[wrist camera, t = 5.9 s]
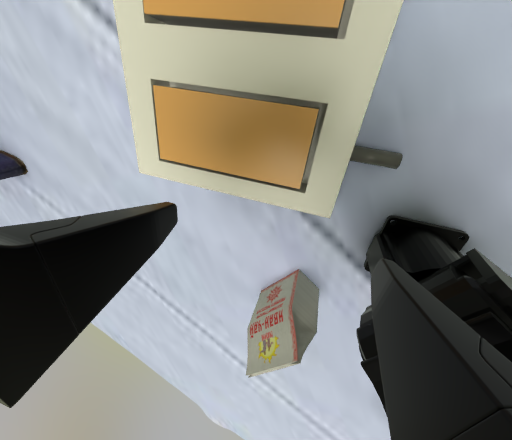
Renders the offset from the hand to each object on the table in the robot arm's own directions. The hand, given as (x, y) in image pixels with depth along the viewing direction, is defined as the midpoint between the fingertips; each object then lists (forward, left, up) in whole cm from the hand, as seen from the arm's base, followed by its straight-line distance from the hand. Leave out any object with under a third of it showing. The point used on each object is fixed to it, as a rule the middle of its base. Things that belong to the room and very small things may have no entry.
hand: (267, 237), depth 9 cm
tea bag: (-2, +16, -13) cm, 21 cm away
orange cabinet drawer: (+6, -2, -12) cm, 13 cm away
